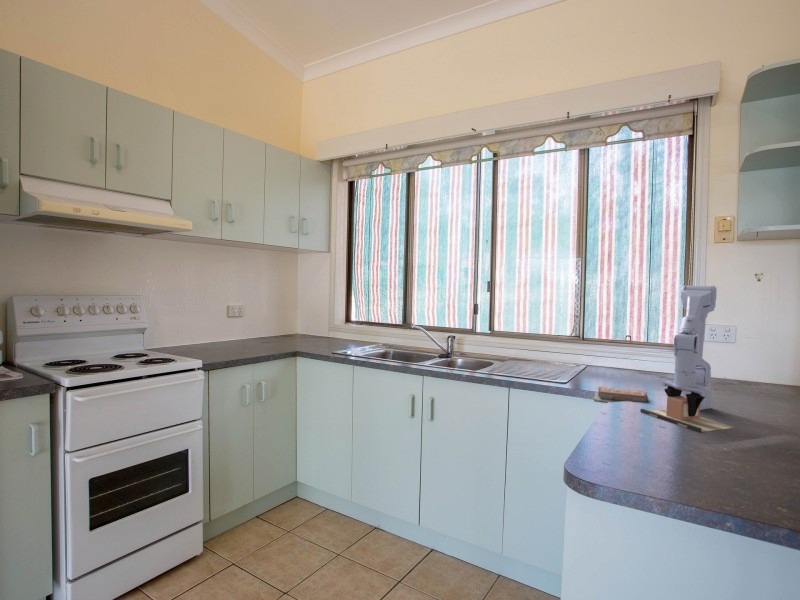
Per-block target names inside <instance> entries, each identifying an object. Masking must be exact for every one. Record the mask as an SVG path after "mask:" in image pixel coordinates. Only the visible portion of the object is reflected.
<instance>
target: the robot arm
mask: <svg viewBox="0 0 800 600" xmlns="http://www.w3.org/2000/svg"><path fill="white" fill-rule="evenodd" d="M680 299H681V303H682V304H681V305H682V307H683V310H685V311H686V315H685V316H683V317H682V318H681V319H680V322H679V323H680V324H679V328H678V331H677V334H675V335H674V337H673V338H674V339H673V351H674V352H673V353H674V354H673V355H674V357H675V358H674V374H673V376H674V377H673V380H668V379H663V380H662V382H661V386H662V387H667V388H664V392H665V394H666V396H667V397H675V396H686V397H687V401H688V416H690V417H691V416H695V415H696V412H697V409H698V407H699V405H700V411H703V410H709V409H711V408H712V391H711V390H710V388H709V386H711V385H710V384H711V380H712V379H711V378H712V371H711V370H712V367H711V365H710V363H709V362H707V361H706V360H705V359H704V358H703V353H704V352H703V351H704V343H705V342H704V341H705V331H706V320H707V317H708V314H709V313H711V312H712V313H713V312H714V311H715V309H716V303H717V302H716V301H717V287H716V286H715V285H687V284H684V285H683V286H681V291H680Z"/></svg>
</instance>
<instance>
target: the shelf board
mask: <svg viewBox="0 0 800 600" xmlns="http://www.w3.org/2000/svg"><path fill="white" fill-rule="evenodd" d="M640 413H642V414H645V415H648V416H650V417H652V418H655V419H660V420H663V421H665V422H667V423H671V424H674V425H677V426H679V427H682V428H684V429H689V430H691V431H694V432H697V433H704V432H711V431H719V430H728V429H735V428H736V427H734V426H732V425H728V424H725V423H722V422H718V421H716V420H714V419H708V418H707V417H702V416H700V415H699V418H697V419H688V420H678V419H675V418H672V417H669V416H666V413H667V408H666V409H657V410H648V409H644V408H641V409H640Z"/></svg>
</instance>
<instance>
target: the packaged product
mask: <svg viewBox="0 0 800 600" xmlns="http://www.w3.org/2000/svg"><path fill="white" fill-rule="evenodd" d="M630 401H631V402H638V403H639V402H640V403H649V396H648V393H647V392H646V391H641V390H640V391H639V390H632V389H626V388H616V387H608V386H598V392H594V396H593V402H599V403H608V402H610V403H619V402H621V403H622V402H630ZM608 404H609V403H608Z"/></svg>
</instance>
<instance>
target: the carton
mask: <svg viewBox="0 0 800 600" xmlns="http://www.w3.org/2000/svg"><path fill="white" fill-rule="evenodd" d="M666 409H667V413H666V416H669V417H672V418H675V419H678V420H688V419H697V418H699V416H700V412H701V410H700V405H699V407H698V409H697V412H696V415H695V416H691V417H690V416H688V401H687V397H686V396H675V397H668V396H667V397H666Z"/></svg>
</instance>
